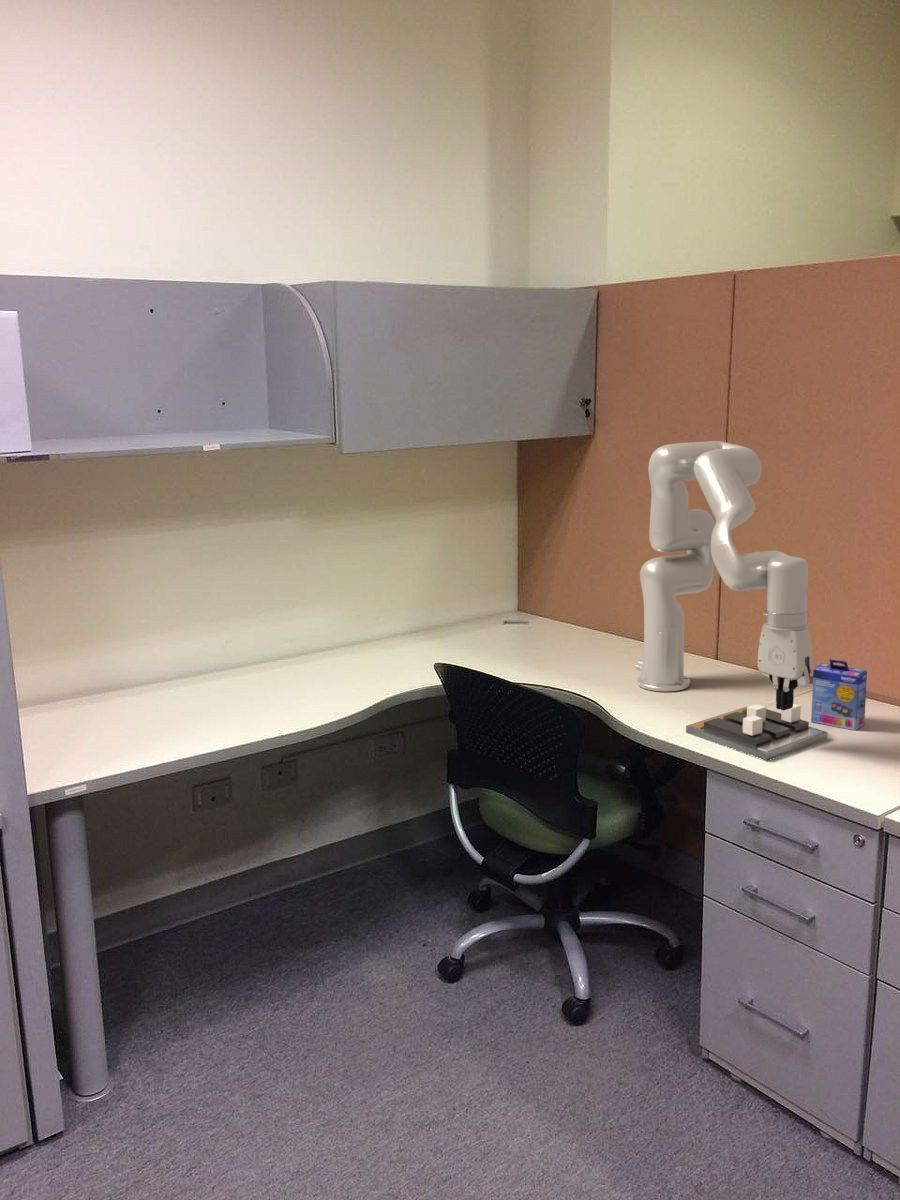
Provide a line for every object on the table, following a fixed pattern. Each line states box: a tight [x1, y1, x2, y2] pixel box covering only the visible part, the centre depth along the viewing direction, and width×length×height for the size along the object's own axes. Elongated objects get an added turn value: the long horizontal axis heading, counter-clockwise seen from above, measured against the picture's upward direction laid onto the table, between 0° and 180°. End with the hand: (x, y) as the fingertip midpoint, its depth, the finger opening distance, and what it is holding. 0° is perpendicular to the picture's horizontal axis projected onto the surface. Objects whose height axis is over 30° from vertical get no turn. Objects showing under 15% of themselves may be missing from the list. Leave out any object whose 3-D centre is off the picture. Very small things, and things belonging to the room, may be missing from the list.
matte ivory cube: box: [746, 703, 767, 722], centre depth 209 cm, size 2×3×3 cm
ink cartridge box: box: [810, 658, 868, 731], centre depth 214 cm, size 10×6×14 cm, turn 51°
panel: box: [685, 706, 829, 762], centre depth 210 cm, size 21×19×3 cm
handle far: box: [781, 702, 802, 722], centre depth 209 cm, size 2×3×3 cm
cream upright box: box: [743, 715, 763, 736], centre depth 203 cm, size 2×3×3 cm
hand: (784, 708), depth 203 cm, fingers closed
